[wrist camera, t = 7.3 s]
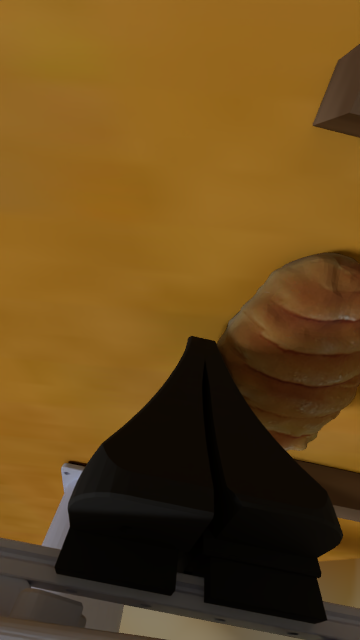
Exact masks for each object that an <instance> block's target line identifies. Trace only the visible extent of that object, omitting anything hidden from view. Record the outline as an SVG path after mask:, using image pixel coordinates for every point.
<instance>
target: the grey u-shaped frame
mask: <svg viewBox="0 0 360 640" xmlns="http://www.w3.org/2000/svg"><path fill="white" fill-rule="evenodd" d="M313 126H316V127H320V128H324V129H328V130H332V131H336V132H340V133H344V134H348V135H352V136H356V137H360V44H359V45H358V46H356V47H355V48H354V49H353V50H351V51H350V52H349V53H347V54H346V55H345V56H344V57H342V58H341V59H340V60H338V62H337V65H336V67H335V70H334V72H333V75H332V77H331V80H330V83H329V85H328V88H327V90H326V93H325V95H324V98H323V100H322V103H321V105H320V108H319V110H318V113H317V115H316V118H315V120H314V123H313ZM295 461H296V462H297V463H298V464H299V465H300V466H301V467H302V468H303V469H304V470H305V471H306V472H307V473H308V474H309V475H310V476H311V477H312V478H314V479H315V480H316V481H317V482H318V483H319V484H320V485H321V486H322V487H323V488H324V489H325V490H326V491H327V493H328V495H329V497H330V500H331V502H332V504H333V507H334V510H335V513H336V515H337V517H338V518H343V519H348V520H353V521H358V522H360V474H359V473H354V472H349V471H345V470H340V469H335V468H331V467H326V466H321V465H316V464H312V463H307V462H302V461H298V460H295Z"/></svg>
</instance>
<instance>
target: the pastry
mask: <svg viewBox="0 0 360 640" xmlns="http://www.w3.org/2000/svg"><path fill="white" fill-rule="evenodd" d="M217 346H218V349H219V351H220V354H221V356H222V358H223V360H224V362H225V365H226V367H227V369H228V371H229V373H230V375H231V376H232V378H233V380H234V382H235V384H236V386H237V387H238V389H239V391H240V392H241V394H242V396H243V397H244V399H245V400H246V402H247V404H248V405H249V406H250V408H251V409H252V411H253V412H254V414H255V415H256V416H257V418H258V419H259V420H260V421H261V423H262V424H263V425H264V426H265V428H266V429H267V430H268V431H269V432H270V434H271V435H272V436H273V437H274V438H275V440H276V441H277V442H278V443H279V444H280V445H281V446H282V447H283V448H284V449H285V451H287V450H298V451H299V450H304V449H306V448H307V443H309V442H310V441H312V440H314V439H315V438H316V437H317V433H318V431H319V430H320V429H321V428H322V427H323V426H324V425H325V424H326V423H328V422H329V421H331V420H332V419H335V418H336V417H337V416H338V415H339V413H340V411H341V409H343V408H344V407H346V406H347V405H348V404H349V403H350V402H351V401H352V400H353V399H354V397H355V394H356V390H357V387H358V385H359V384H360V264H359V263H358V262H357V261H356V260H354V259H353V258H351V257H347V256H344V255H341V254H336V253H321V254H315V255H311V256H307V257H304V258H301V259H298V260H295V261H292V262H290V263H288V264H286V265H284V266H283V267H282V268H280V269H277V270H275V271H274V272H272V273H271V275H270V276H269V277H268V279H267V281H266V282H265V284H264V285H262V286H261V287H260V288H259V289H258V291H257V293H256V294H255V296H254V297H253V298H252V299H250V300H249V301H248V302H247V303H246V304H245V305H243V307H242V308H241V310H240V312H238V313H237V314H236V315H235V316H234V317H233V318H232V319H231V320H230V321H229V323H228V328H227V329H226V331H225V332H224V334H223V335H222V336H221V338H220V339H219V341H218V343H217Z"/></svg>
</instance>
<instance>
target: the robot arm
mask: <svg viewBox="0 0 360 640" xmlns="http://www.w3.org/2000/svg"><path fill="white" fill-rule="evenodd" d="M61 471H62V479H63V486H64V495H63V498H62V500H61V502H60V505H59V507H58V509H57V512H56V514H55V516H54V518H53V521H52V523H51V525H50V528H49V530H48V532H47V534H46V537H45V539H44V541H43V544H42V546H40V545H35V544H30V543H25V542H20V541H15V540H10V539H5V538H0V640H165V639H158V638H151V637H145V636H138V635H131V634H124V633H119V628H120V623H121V618H122V613H123V607H124V605H129V606H134V607H139V608H144V609H150V610H154V611H159V612H165V613H170V614H175V615H180V616H185V617H191V618H196V619H201V620H206V621H211V622H216V623H222V624H227V625H232V626H237V627H243V628H248V629H253V630H258V631H263V632H269V633H274V634H279V635H284V636H289V637H294V638H300V639H305V640H360V608H354V607H350V606H345V605H339V604H334V603H329V602H324V601H322V597H321V593H320V589H319V585H318V581H317V578H320V577H321V570H320V566H319V563H318V559H317V558H318V557H320V556H321V555H323V554H325V553H326V552H328V551H330V550H332V549H333V548H335V547H336V546H337V545H338V544H340V542H341V540H342V537H343V533H342V530H341V527H340V524H339V521H338V518H337V515H336V513H335V510H334V507H333V504H332V502H331V500H330V497H329V495H328V493H327V491H326V490H325V489H324V488H323V487H322V486H321V485H320V484H319V483H318V482H317V481H316V480H315V479H314V478H312V477H311V476H310V475H309V474H308V473H307V472H306V471H305V470H304V469H303V468H302V467H301V466H300V465H299V464H298V463H297V462H296V461H295V460H294V459H293V458H292V457H291V456H290V455H289V454H288V453H287V452H286V451H285V449H284V448H283V447H282V446H281V445H280V444H279V443H278V442H277V441H276V440H275V438H274V437H273V436H272V435H271V434H270V432H269V431H268V430H267V429H266V428H265V426H264V425H263V424H262V423H261V421H260V420H259V419H258V418H257V416H256V415H255V414H254V412H253V411H252V409H251V408H250V406H249V405H248V404H247V402H246V400H245V399H244V397H243V396H242V394H241V392H240V391H239V389H238V387H237V386H236V384H235V382H234V380H233V378H232V376H231V375H230V373H229V371H228V369H227V367H226V365H225V362H224V360H223V358H222V356H221V354H220V351H219V349H218V346H217V344H216V342H215V341H212V340H208V339H203V338H199V337H194V336H191V337H189V338H188V342H187V345H186V349H185V352H184V354H183V356H182V357H181V359H180V361H179V363H178V365H177V366H176V368H175V369H174V371H173V372H172V374H171V375H170V377H169V378H168V379H167V381H166V382H165V383H164V385H163V386H162V387H161V388H160V390H159V391H158V392H157V393H156V394H155V395H154V396H153V398H152V399H151V400H150V401H149V402H148V403H147V404H146V405H145V406H144V407H143V408H142V409H141V410H140V411H139V412H138V413H137V414H136V415H135V416H134V417H133V418H132V419H131V420H129V421H128V422H127V423H126V424H125V425H124V426H123V427H122V428H120V429H119V430H118V431H117V432H115V433H114V434H113V435H112V436H110V437H109V438H108V439H107V440H106V441H104V442H103V443H102V444H101V445H100V447H99V448H98V449H97V451H96V452H95V454H94V455H93V456H92V458H91V459H90V461H89V462H88V463H87V465H86V466H85V467H84V466H79V465H75V464H70V463H65V464H63V466H62V468H61Z"/></svg>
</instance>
